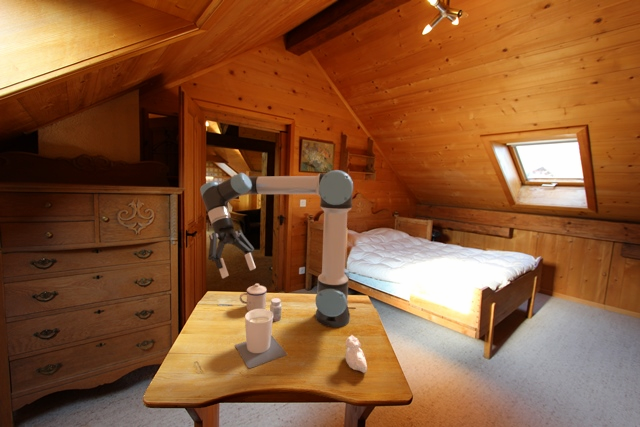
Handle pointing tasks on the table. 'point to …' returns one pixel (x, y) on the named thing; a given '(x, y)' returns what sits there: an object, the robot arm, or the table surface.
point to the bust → (355, 355)
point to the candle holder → (258, 330)
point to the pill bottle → (276, 309)
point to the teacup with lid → (255, 297)
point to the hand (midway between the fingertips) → (240, 273)
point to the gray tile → (260, 354)
